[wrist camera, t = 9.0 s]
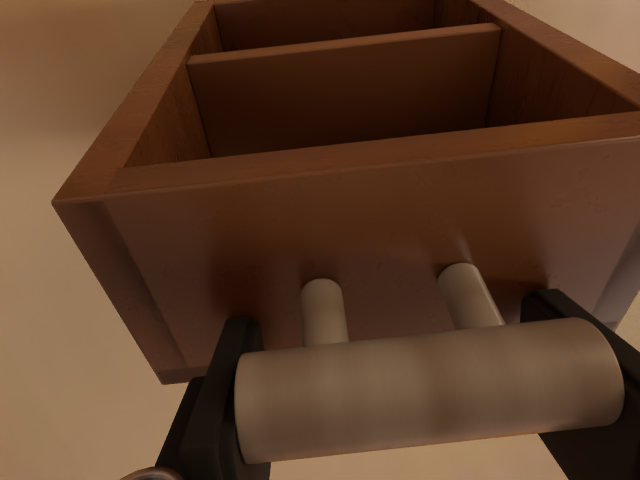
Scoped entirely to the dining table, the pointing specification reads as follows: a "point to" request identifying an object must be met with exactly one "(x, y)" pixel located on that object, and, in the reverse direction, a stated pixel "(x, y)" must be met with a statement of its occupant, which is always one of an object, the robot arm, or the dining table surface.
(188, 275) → the brown open box
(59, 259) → the dining table surface
